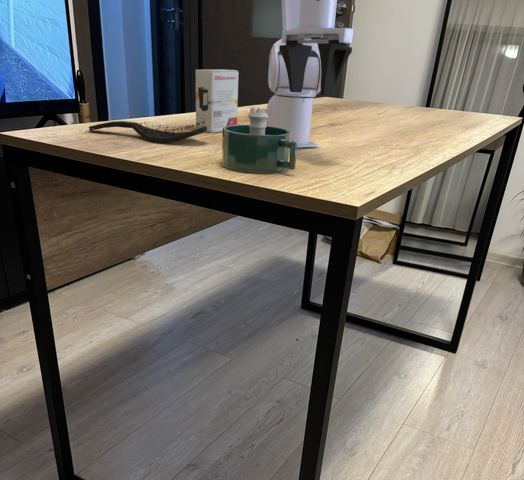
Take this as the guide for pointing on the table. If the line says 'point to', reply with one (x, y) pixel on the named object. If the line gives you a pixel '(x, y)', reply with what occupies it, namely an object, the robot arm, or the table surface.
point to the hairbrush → (154, 131)
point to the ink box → (216, 99)
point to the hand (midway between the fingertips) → (310, 93)
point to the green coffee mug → (258, 150)
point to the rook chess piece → (257, 121)
